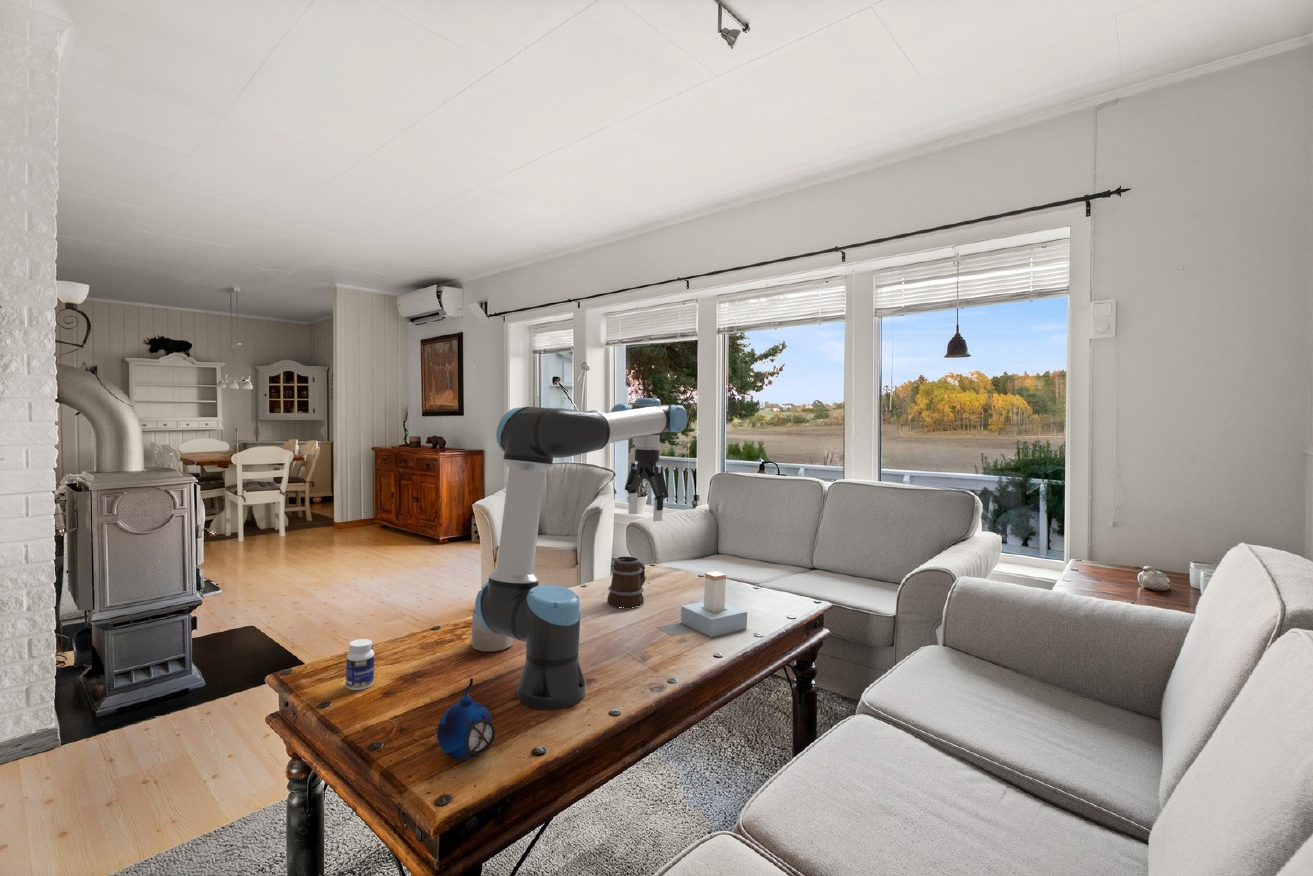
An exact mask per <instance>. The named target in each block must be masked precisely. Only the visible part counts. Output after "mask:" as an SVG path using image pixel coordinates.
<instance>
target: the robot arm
mask: <svg viewBox="0 0 1313 876" xmlns="http://www.w3.org/2000/svg"><path fill="white" fill-rule="evenodd" d="M687 424H688V414H687V411H686V408H685V407H684V406H682V405H677V404H662V403H661V400H660V399H659V398H650V397H649V398H648V397H639V398H637V399H636V403H627V402H624V403H623V402H622V403H617V404H615V405H614V406H613V407H612V408H611V410H610V412H604V413H603V412H601V411H599V410H577V409H568V408H559V407H554V408H553V407H541V406H539V407H537V406H523V407H513V408H512V409H509V410H508V411H507V412H506V413H505V414H504V415H503V416H502V417H501V418H500V420H499V421H498V425H497V428H496V433H495V434H496V435H495V436H496V438H495V439H496V443H497V444H498V447H499V448H500V450H501V451H503V462H504V464H505V465H507V468H508V473H507V474H508V475H507V482H506V488H505V498H504V505H503V513H502V514H503V515H502V521H501V531H500V539H499V547H498V553H497V555H498V556H497V562H496V569H495V570H494V571H492V572H491V573H489V575H488V581H486V582H485V583H484V584H483V585H482V586H481V589H480V590H479V591H478V592H477V594H476V597H475V602H474V609H475V612H476V616H477V619H478V621H479V622H480V623H481V625H482V626H483V627H485V628H486V629H489V630H491V631H492V632H494V633H496V634H500V635H501V634H502V635H505V636H508V637H511V638H513V640H514V639H515V640H518V641H520V642H524V643H526V646H525V647H526V649H525V650H526V653H525V655H526V656H525V663H524V665H523V669H522V671H521V674H520V677H519V680H518V683H517V687H516V688H517V689H516V690H517V691H516V697H517V700H518V701H519V702H520V703H521V704H523V706H524V705H525V706H527V707H530V708H533V709H538V710H539V709H540V710H557V709H558V710H559V709H564V708H567V707H571V706H573V705H575V704H577V703H579V702H580V701H582V700H583V698H584V697H585V696H586V681H585V678H584V674H583V670H582V667H581V663H580V661H579V654H580V653H579V649H580V648H579V647H580V645H579V644H580V627H581V625H580V624H581V608H580V607H581V605H580V598H579V596H578V594H577V593H576V592H574V591H573V590H572V589H570V588H567V587H565V586H561V585H552V584H540V585H539V579H540V578H539V577H538V576H537V575H536V573H535V571H534V567H535V561H536V560H535V559H536V553H537V552H536V551H537V543H538V536H539V535H538V534H539V526H540V518H541V508H542V501H543V492H544V483H545V476H546V472H547V471H548V470H549V469H550V468H551V467H552V466H553V463H554V459H555V458H556V459H559V458H560V459H561V458H562V459H563V458H568V457H574V456H579V455H583V454H587V453H591V452H596V451H600V450H602V449H604V448H605V447H607V445H608V444H612V443H617V442H618V443H619V442H623V441H626V440H630V439H631V440H632V439H634V440H635V441H634V446H635V450H634V462H633V461H632V462H631V464H630V470H629V473H628V476H627V478H626V483H625V486H624V491H627V493H628V515H637V514H638V489H639V488H640V485H641V484H642V482H643V480H646V481H647V482H648V483H649V485H650V487H651V490H652V492H653V495H654V498H653V514H652V515H653V516H652V517H653V518H652V520H653V522H661V521H663V510H664V500H665V499H668V498H669V493H668V488H667V485H666V481H665V477H664V467H663V466H662V465H657V462H659V461H660V450H659V449H658V448H660V435H661V434H662V433H667V432H668V433H670V432H671V433H680V432H683V431H684V430H685V429H686V427H687ZM635 461H636V462H635Z"/></svg>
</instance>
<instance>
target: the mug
mask: <svg viewBox="0 0 1313 876" xmlns="http://www.w3.org/2000/svg"><path fill="white" fill-rule="evenodd" d="M610 570H611V572H612V577H611V584H610V586H609V587H608V591H609V593H608V595H607V604H608V605H609V604H610V605H613V606H616V607H615V608H617V607H622V608H621V609H626V608H631V609H633V608H632V607H636V606H640V605H641V604H642V605H643V604H644V601H645V598H644V595H643V592H644V588H643V586H644V584H645V582H646V578H647V577H646V576H645V575H646V574H645V570H646V566H645V565H644V563H643V562H642V561H640V560H639V559H638V557H634V556H618V557H616V558H615V560H614V563H613V566H612V567H611V569H610ZM610 605H609V606H610ZM642 605H641V606H642ZM613 606H612V607H613ZM641 606H640V607H641ZM623 607H624V608H623ZM636 608H637V607H636Z"/></svg>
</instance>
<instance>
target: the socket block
mask: <svg viewBox="0 0 1313 876" xmlns="http://www.w3.org/2000/svg"><path fill="white" fill-rule="evenodd" d="M680 607H681V608H680V624H681V623H682V625H683V624H684V626H686V627H688V628H689V627H690V629H692V630H694V631H695V630H696V631H697V632H700V633H702V634H704V635H706V636H708V637H710V638H711V637H712V638H713V637H716V636H721V635H725V634H730V633H734V632H738V631H742V630H746V628H747V629H748V627H747V626H748V611H747V610H744V609H742V608H740V607H737V606H734V605H732V604H729V603H727V602H725V610H724V611H721V612H717V613H711V612H709V611H707V610H704V601H700V602H695V603H689V604H685V605H681V606H680Z"/></svg>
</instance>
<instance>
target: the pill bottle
mask: <svg viewBox="0 0 1313 876" xmlns="http://www.w3.org/2000/svg"><path fill="white" fill-rule="evenodd" d="M348 646H349V647H348V650H349V652H347V655H346V661H345V662H346V665H345V666H346V667H345V669H346V670H345V687H346V689H348V690H351V691H362V690H365V689H368V688H370V687H371V686H373V685H374V682H375V681H374V678H375V652H374V650H373V649H372V647H373V641H372V640H371V639H369V638H368V639H367V638H359V639H355V640H352V641H350V642H349V644H348Z"/></svg>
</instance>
